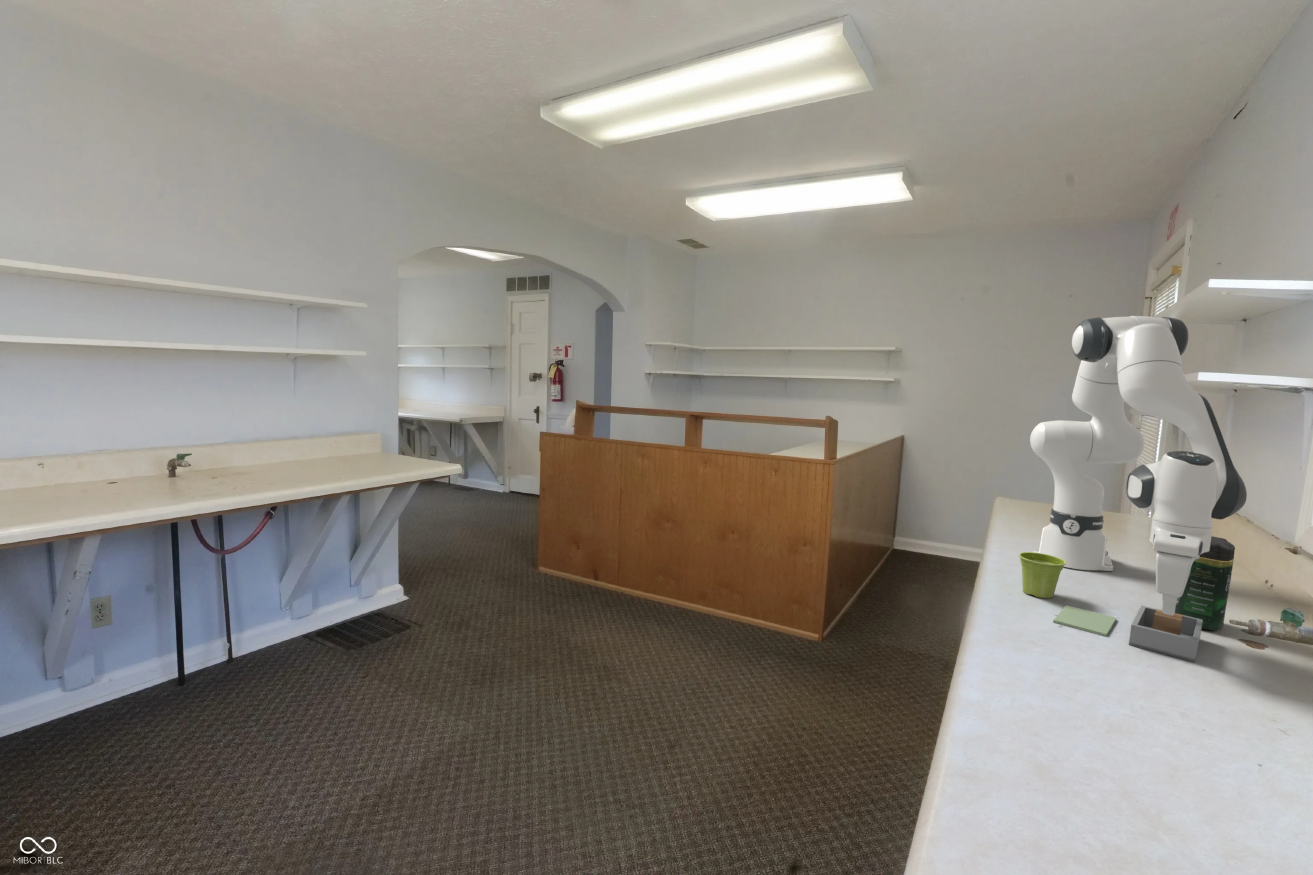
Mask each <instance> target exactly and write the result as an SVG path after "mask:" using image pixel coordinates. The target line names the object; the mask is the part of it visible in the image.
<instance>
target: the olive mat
mask: <svg viewBox="0 0 1313 875" xmlns="http://www.w3.org/2000/svg"><path fill="white" fill-rule="evenodd" d="M1052 621H1053V623H1055V624H1058V625H1062V626H1066V627H1069V628H1073V629H1077V630H1082V631H1084V632H1088V633H1092V634H1095V635H1098V636H1104V637H1108V634H1109V633H1110V631H1111V630H1112V628H1113V626H1114V624H1115V623H1116V622H1117V617H1115V616H1112V615H1111V616H1110V615H1106V614H1103V613H1099V612H1094V611H1090V610H1087V609H1082V608H1078V607H1074V606H1072V605H1071V606H1070V605H1065V606H1064V607H1063V609H1061V611H1060V612H1059V613H1058V614H1057V615H1056V616H1055V617H1054V619H1053V620H1052Z"/></svg>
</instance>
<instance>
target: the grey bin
mask: <svg viewBox="0 0 1313 875" xmlns="http://www.w3.org/2000/svg"><path fill="white" fill-rule="evenodd" d="M1156 609H1157V608H1153V607H1150V606H1145V605H1141V606H1140V607H1139V609H1138V611H1137V613H1136V615H1135V617H1134V619H1133V621H1132V623H1131V626H1130V632H1129V641H1128V645H1129V646H1132V647H1135V648H1138V649H1143V650H1147V651H1151V652H1155V653H1158V654H1162V655H1166V656H1170V657H1173V658H1176V659H1180V660H1185V661H1188V662H1191V663H1195V662H1196V660H1197V655H1198V650H1199V647H1200V646H1199V645H1200V641H1201V640H1200V639H1201V635H1202V622H1203V620H1202V619H1198V618H1193V617H1189V616H1185V615H1183V619H1182V626H1181V633H1180V635H1176V634H1172V633H1168V632H1164V631H1160V630H1156V629H1152V628H1153V620H1154V614H1155V612H1156ZM1180 615H1181V614H1180Z"/></svg>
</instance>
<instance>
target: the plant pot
mask: <svg viewBox="0 0 1313 875" xmlns="http://www.w3.org/2000/svg"><path fill="white" fill-rule="evenodd" d="M1018 557H1019V559H1020V563H1021V576H1022V579H1021V580H1022V591H1023V592H1024V593H1025V595H1026V594H1027V595H1029V596H1030V595H1032V596H1035V597H1036V598H1040V599H1041V598H1042V599H1050V598H1052V597H1054V595H1055V591H1056V588H1057V585H1058V582H1059V579H1060V575H1061V573H1062V570H1063V569H1064V567H1063V566H1064V565H1066V561H1064V560H1063V559H1061V558H1058V557H1055V556H1051V555H1047V554H1042V553H1035V552H1033V551H1025V552H1024V551H1023V552H1019V553H1018Z"/></svg>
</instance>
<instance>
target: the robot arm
mask: <svg viewBox="0 0 1313 875" xmlns="http://www.w3.org/2000/svg"><path fill="white" fill-rule="evenodd" d="M1071 338H1072V339H1071V346H1072V352H1073V355H1074V356H1075V357H1076V358H1077V359H1078V360H1080V364H1079V367H1078V370H1077V374H1076V378H1075V382H1074V386H1073V391H1072V394H1071V401H1072V403H1073V404H1074V406H1075V407H1076V408H1078V409H1079V410H1080V411H1081V412H1084V413H1086V414H1088V415H1089V416H1092V417H1091V420H1089V421H1081V420H1080V421H1079V420H1077V421H1076V420H1061V419H1059V420H1049V421H1048V420H1047V421H1043V422H1040V423H1038V424H1037V425H1035V427H1034V428H1033V430H1032V431H1031V433H1030V436H1029V445H1030V448H1031V450H1032V451H1033V453H1034V454H1035V455H1036V456H1037V457H1039V459H1041V460H1042V461H1043V462H1044V463H1045V464H1046V466H1047V468H1049V470H1050V472H1051V474H1052V478H1053V484H1054V494H1053V495H1054V496H1053V507H1052V508H1051V511H1050V513H1049V521H1050V523H1049V524H1048V525H1045V526H1044V527H1042V531H1041V537H1040V543H1039V549H1035V550H1033V551H1032V552H1035V553H1042V554H1047V555H1051V556H1055V557H1058V558H1061V559H1063V560H1064V561H1066V565H1064V566H1063V568H1069V569H1072V570H1073V569H1074V570H1081V571H1105V572H1114V566H1113V562H1112V559H1111V556H1110V555H1109V551H1108V550H1106V549H1107V540H1108V539H1107V538H1106V536H1105V535H1104V534H1103V532H1102V530H1103V527H1104V515H1103V508H1104V499H1105V488H1104V485H1103V484H1102V483H1101V481H1099V480H1098V479H1096V478H1094V477H1093V476H1091V475H1089V474H1087V473H1085V472H1084V470H1083V463H1090V464H1101V465H1102V464H1104V465H1106V464H1107V465H1117V464H1118V465H1119V464H1120V465H1122V464H1129V463H1134V462H1135V461H1137V460H1138V459H1139V458H1140V457H1141V455H1142V454H1143V452H1144V449H1145V439H1144V436H1143V434H1142V433H1141V431H1140V429H1138V428H1137V427H1135V426H1134V425H1133V424H1132V423H1131V421H1129V420H1128V418H1127V415H1126V413H1125V407H1124V406H1125V403H1126V404H1127V406H1129V407H1131V408H1132V409H1134V410H1135V411H1137V412H1139V413H1141V414H1144V415H1147V416H1152V417H1154V418H1158V419H1159V420H1163V421H1165V422H1168V423H1169V424H1172V425H1173V426H1175V427H1177V428H1179V429H1180V430H1181V431H1183V433H1185V435H1186V436H1187V438H1188V440H1189V441H1188V442H1189V444H1190V447H1191V449H1192V451H1183V450H1174V451H1169V452H1166V453H1164V454H1163V455H1162V457H1161V459H1160V460H1159V461H1155V462H1152V463H1148V464H1147V463H1145V464H1140V465H1138V466H1137V467H1136V468H1134V469H1133V470H1132V471H1131V472H1130V473H1129V474H1128V476H1127V479H1126V487H1125V488H1126V490H1125V491H1126V492H1125V493H1126V498H1128V499H1129V501H1130V502H1131V503H1132V504H1133V505H1134V506H1136V507H1137V508H1139V509H1142V510H1145V511H1150V512H1153V515H1152V518H1151V524H1150V531H1149V532H1150V533H1149V543H1151V545H1152V550H1153V551H1155V552H1156V554H1155V587H1156V588H1155V589H1156V592H1157V593H1159V594H1161V595H1162V607H1161V608H1162V609H1161V610H1162V613H1164V614H1167V615H1171V616H1173V615H1174V614H1175V608H1176V604H1177V603H1178V602H1179V600H1180V597H1181V596H1182V595H1183V592H1184V589H1185V586H1186V583H1187V581H1188V578H1189V575H1190V571H1191V566H1192V564H1193V562H1194V561H1195V560H1196V559H1199V557H1200V554H1202V553H1204V552H1209V550H1210V543H1211V536H1212V534H1213V527H1214V522H1213V520H1212V519H1214V520H1215V519H1216V520H1224V519H1226V518H1229V517H1232V515H1234V514H1236V513H1237V512H1239V511H1240V510H1241V509H1242V508H1243V507H1244V506H1245V504H1246V501H1247V498H1248V497H1247V495H1248V494H1247V488H1246V485H1245V483H1244V480H1243V478H1242V476H1241V475H1240V474H1239V472H1238V470H1237V469H1236V467H1235V465H1234V463H1233V460H1232V458H1231V455H1230V452H1229V450H1228V447H1227V444H1226V442H1225V439H1224V436H1223V434H1222V430H1221V429H1220V425H1219V423H1218V421H1217V418H1216V415H1215V413H1214V411H1213V409H1212V408H1213V407H1212V406H1211V404H1210V402H1209V400H1208V399H1207V398H1206V397H1205V396H1203V395H1202V394H1199V393H1198V392H1197V391H1196V390H1195V389H1194V388H1193V386H1191V384H1190V383H1189V381H1188V379H1187V378H1186V375H1185V373H1184V371H1183V362H1182V358H1181V356H1182V355H1183V354H1184V353H1185V351H1186V349H1187V346H1188V342H1189V329H1188V327H1187V325H1186V324H1185V322H1184V321H1183V320H1181V319H1179V318H1174V317H1167V316H1161V317H1156V316H1147V315H1146V316H1144V315H1143V316H1142V315H1130V316H1113V317H1103V318H1102V317H1099V316H1098V317H1091V318H1087V319H1084V320H1082V321H1080V323H1078V324H1077V326H1076V327H1075V329H1074V332H1073V334H1072V337H1071Z"/></svg>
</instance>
